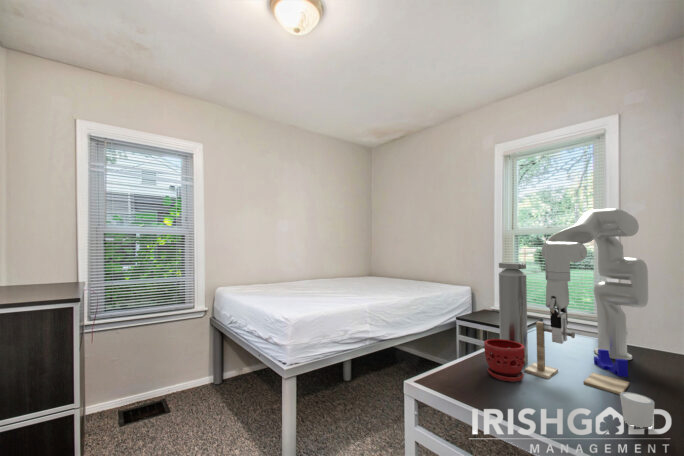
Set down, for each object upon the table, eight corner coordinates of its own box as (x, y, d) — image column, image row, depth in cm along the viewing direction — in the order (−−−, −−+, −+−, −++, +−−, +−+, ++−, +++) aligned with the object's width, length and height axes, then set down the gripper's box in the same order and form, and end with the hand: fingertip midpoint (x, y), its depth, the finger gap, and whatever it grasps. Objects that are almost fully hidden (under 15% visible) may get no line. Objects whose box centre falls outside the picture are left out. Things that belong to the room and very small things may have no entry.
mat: (592, 374, 116) (592, 372, 116) (629, 384, 108) (629, 382, 108) (583, 384, 108) (583, 381, 108) (622, 395, 100) (621, 392, 100)
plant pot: (529, 376, 114) (528, 342, 115) (519, 388, 105) (518, 351, 105) (491, 366, 123) (491, 335, 124) (479, 376, 114) (478, 343, 114)
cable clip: (594, 363, 127) (593, 348, 127) (606, 364, 126) (606, 349, 126) (614, 376, 115) (613, 359, 115) (628, 377, 114) (627, 360, 114)
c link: (557, 338, 117) (556, 311, 118) (567, 340, 115) (566, 312, 115) (552, 341, 114) (551, 313, 114) (561, 343, 111) (561, 315, 112)
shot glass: (613, 417, 87) (613, 392, 88) (636, 416, 88) (635, 391, 88) (639, 432, 81) (638, 404, 81) (663, 431, 81) (662, 403, 82)
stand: (534, 365, 124) (533, 318, 125) (579, 377, 113) (578, 325, 114) (524, 371, 118) (523, 322, 119) (570, 385, 107) (569, 330, 108)
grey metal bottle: (527, 368, 122) (525, 264, 123) (498, 362, 127) (497, 263, 129) (528, 359, 130) (526, 263, 132) (501, 354, 136) (499, 262, 137)
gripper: (553, 273, 123) (555, 319, 123) (537, 277, 113) (538, 328, 112) (577, 275, 118) (578, 323, 117) (562, 279, 107) (563, 333, 106)
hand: (559, 325), depth 115 cm, fingers closed on c link, 6 cm apart
